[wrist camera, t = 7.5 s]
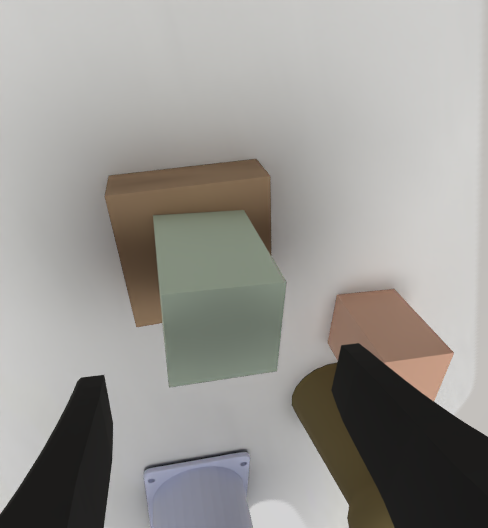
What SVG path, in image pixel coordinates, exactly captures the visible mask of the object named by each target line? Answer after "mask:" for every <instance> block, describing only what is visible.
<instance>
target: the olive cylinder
mask: <svg viewBox="0 0 488 528" xmlns="http://www.w3.org/2000/svg"><path fill="white" fill-rule="evenodd" d="M336 367H337V363H334V364H329V365H326V366H323V367H321V368H319V369H316V370H314V371H313V372H312V373H310V374H309V375H307V376H306V377H305V378H304V379H303V380H302V381H301V382H300V383H299V384H298V385H297V387H296V389H295V391H294V393H293V395H292V406H293V408H294V410H295V412H296V414H297V416H298V418H299V419H300V421H301V423H302V425H303V426H304V428H305V430H306V431H307V433H308V435H309V437H310V438H311V440H312V442H313V444H314V445H315V447H316V449H317V450H318V452H319V454H320V456H321V457H322V459H323V461H324V463H325V464H326V466H327V468H328V470H329V471H330V473H331V475H332V476H333V478H334V480H335V482H336V483H337V485H338V487H339V489H340V490H341V492H342V494H343V495H344V497H345V499H346V501H347V502H348V504H349V511H348V517H347V519H348V524H349V528H395V527H394V525H393V523H392V520H391V518H390V515H389V513H388V510H387V508H386V506H385V503H384V501H383V499H382V497H381V495H380V493H379V490H378V488H377V486H376V484H375V483H374V481H373V479H372V477H371V475H370V473H369V471H368V469H367V467H366V465H365V463H364V462H363V460H362V458H361V456H360V454H359V452H358V450H357V448H356V446H355V444H354V442H353V441H352V439H351V437H350V435H349V433H348V431H347V429H346V427H345V425H344V423H343V421H342V418H341V416H340V413H339V411H338V408H337V405H336V402H335V400H334V397H333V394H332V391H331V389H332V385H333V380H334V376H335V371H336Z"/></svg>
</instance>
